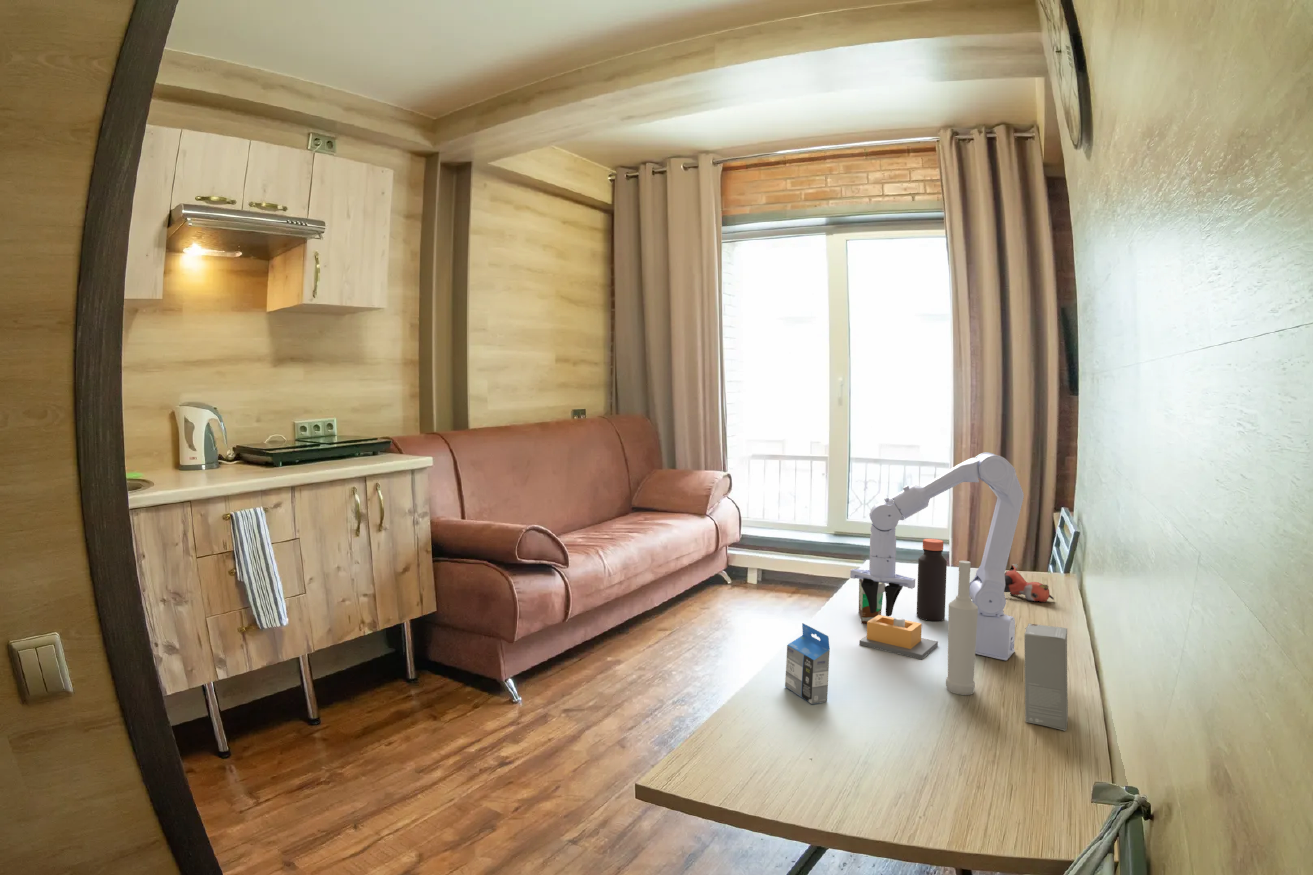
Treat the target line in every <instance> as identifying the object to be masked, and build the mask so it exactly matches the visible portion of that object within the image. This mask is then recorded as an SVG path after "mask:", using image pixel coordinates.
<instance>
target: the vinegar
mask: <svg viewBox="0 0 1313 875" xmlns="http://www.w3.org/2000/svg"><path fill="white" fill-rule="evenodd" d="M922 550H923V553H922V555H921V556H919V557H918V559H917V560H918V562H917V563H918V564H917V592H916V593H917V594H916V616H917V617H918V619H921V620H924V621H929V622H930V621H931V622H941V621H944V620H945V617H946V598H947V597H946V595H947V593H946V592H947V571H948V570H947V565H948V562H947V560H946V559H945V557H944V556H943V552H944V540H942V539H937V538H924V539H922Z"/></svg>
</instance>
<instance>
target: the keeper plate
mask: <svg viewBox="0 0 1313 875" xmlns="http://www.w3.org/2000/svg"><path fill="white" fill-rule="evenodd" d="M893 618H894V626H899V627H903V628H905V620H906V619H905V618H903V617H893ZM938 643H939V641H938V640H933V639H927V638H924V637H921V641H920V642H919V643H918V644H916V645H915V646H914V647H913V648H911V649H908V648H904V647H900V646H895V645H891V644H886V643H882V642H878V641H873V640H869V639H867V635H865V636H864V637H863V638H860V639H859V645H860V646H862V647H863V646H864V647H867V648H872V649H876V650H880V651H885V652H889V653H892V654H898V655H901V656H906V657H911V658H914V659H919V660H923V659H924V658H925V657H927V656H929V654H930V653H931V652H932V651H933V650H935V649H936V648H937V647H938V646H939V644H938Z"/></svg>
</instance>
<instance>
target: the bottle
mask: <svg viewBox="0 0 1313 875" xmlns="http://www.w3.org/2000/svg"><path fill="white" fill-rule="evenodd" d="M971 565H972V564H971V561H968V560H959V561H958V585H957V586H958V587H957V588H958V589H957V594H956V595H955V598H954V599H953V600H951V601H950V602H949V603H948V619H947V620H948V627H947V628H948V629H947V631H948V632H947V634H948V635H947V676H946V678H945V686H946V689H947V691H949V692H951V693H953V694H957V695H959V696H962V695H963V696H970V695H973V694H974V692H975V688H976V683H975V681H974V677H975V660H976V654H975V648H976V632H977V615H978V607H977V606H976V605H975V604H974V603H973V602H972V599H971V597H969V587H970V582H971V581H970V580H971Z"/></svg>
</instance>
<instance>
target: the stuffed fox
mask: <svg viewBox="0 0 1313 875" xmlns="http://www.w3.org/2000/svg"><path fill="white" fill-rule="evenodd" d="M1018 566H1019V565H1018V563H1012V564H1011V567H1010V569H1009V570H1005V589H1004V593H1009V594H1010V595H1011V596H1021V595H1023V596H1024V597H1025V599H1026V600H1027V601H1029V602H1032V601H1034V602H1038V601H1039V602H1041V603H1046V602H1047V601H1048V600H1049V598H1050V599H1052V600H1055V599H1054V598H1055V597H1054V596H1052V595H1051V594H1050V590H1049V585H1048V584H1044V583H1041V582H1037V581H1030V582H1028V581H1026V580H1025V579H1024V577H1023V576H1022V575H1021V574H1020V573H1019V572H1018V571H1017V570H1018V569H1019V567H1018Z"/></svg>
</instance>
